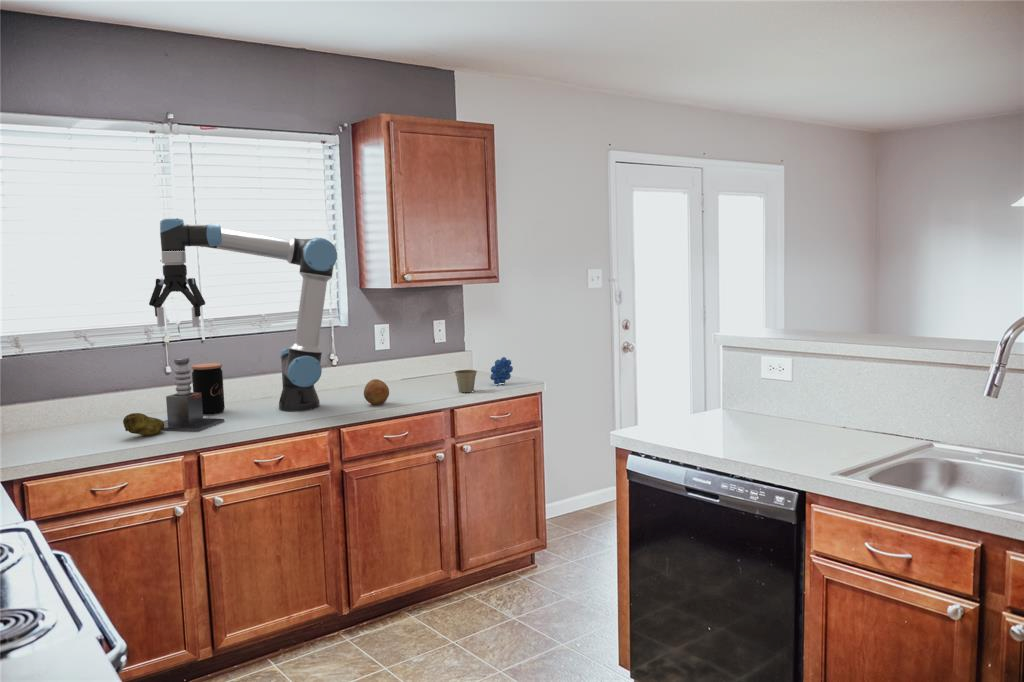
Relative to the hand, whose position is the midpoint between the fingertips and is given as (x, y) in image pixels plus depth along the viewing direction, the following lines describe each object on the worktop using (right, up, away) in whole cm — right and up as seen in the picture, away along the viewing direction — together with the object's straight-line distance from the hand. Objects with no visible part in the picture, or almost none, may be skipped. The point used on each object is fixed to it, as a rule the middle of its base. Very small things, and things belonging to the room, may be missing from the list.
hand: (178, 326), depth 278 cm
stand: (+1, -34, +4) cm, 35 cm away
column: (+1, -33, +3) cm, 33 cm away
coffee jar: (+1, -32, +26) cm, 41 cm away
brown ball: (+62, -30, +35) cm, 77 cm away
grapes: (+110, -24, +76) cm, 136 cm away
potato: (-7, -36, -10) cm, 39 cm away
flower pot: (+95, -26, +59) cm, 115 cm away
